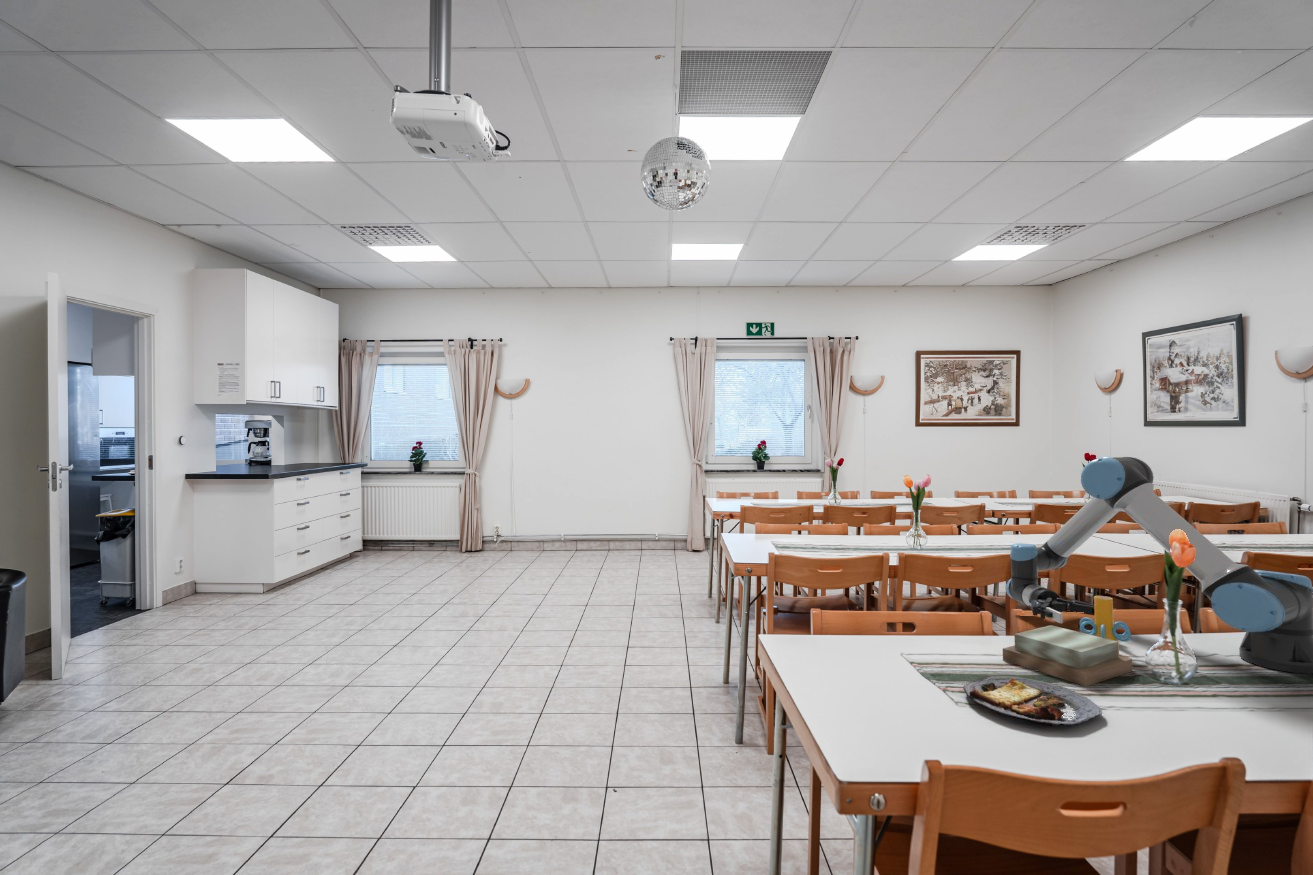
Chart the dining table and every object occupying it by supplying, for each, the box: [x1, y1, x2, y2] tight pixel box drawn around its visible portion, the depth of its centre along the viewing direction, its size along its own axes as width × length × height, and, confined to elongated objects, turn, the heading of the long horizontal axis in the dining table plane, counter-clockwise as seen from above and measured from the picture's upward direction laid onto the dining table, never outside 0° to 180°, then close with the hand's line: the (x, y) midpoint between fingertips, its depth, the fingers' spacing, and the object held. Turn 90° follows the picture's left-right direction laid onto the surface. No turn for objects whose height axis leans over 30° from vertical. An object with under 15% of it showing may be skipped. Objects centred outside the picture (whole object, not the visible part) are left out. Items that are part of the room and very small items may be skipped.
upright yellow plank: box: [1079, 595, 1132, 656], centre depth 160 cm, size 12×10×15 cm
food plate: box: [963, 675, 1103, 726], centre depth 128 cm, size 25×23×4 cm
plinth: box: [1002, 624, 1133, 687], centre depth 152 cm, size 20×20×7 cm
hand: (1086, 618), depth 165 cm, fingers open, 13 cm apart
